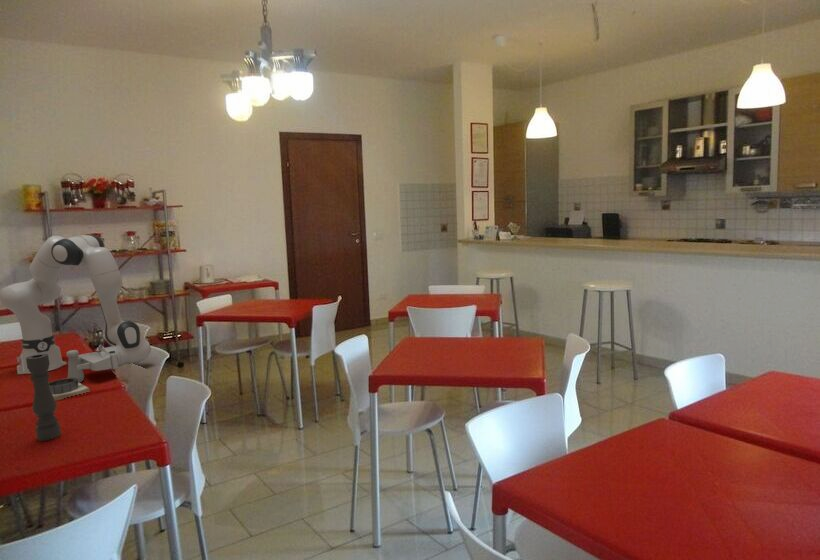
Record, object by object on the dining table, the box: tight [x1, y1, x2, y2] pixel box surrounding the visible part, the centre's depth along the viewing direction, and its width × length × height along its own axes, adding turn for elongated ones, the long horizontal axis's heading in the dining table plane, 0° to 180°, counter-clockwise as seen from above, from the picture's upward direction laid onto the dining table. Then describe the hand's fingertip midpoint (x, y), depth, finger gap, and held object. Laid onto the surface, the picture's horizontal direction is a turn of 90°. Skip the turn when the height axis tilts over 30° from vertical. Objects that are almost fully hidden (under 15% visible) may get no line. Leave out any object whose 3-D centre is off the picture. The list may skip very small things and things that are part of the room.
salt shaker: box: [65, 349, 85, 383], centre depth 236 cm, size 6×6×13 cm
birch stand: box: [52, 382, 91, 402], centre depth 223 cm, size 14×14×2 cm
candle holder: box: [26, 354, 62, 442], centre depth 178 cm, size 6×6×25 cm
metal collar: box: [49, 377, 79, 394], centre depth 222 cm, size 10×10×3 cm
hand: (72, 365), depth 235 cm, fingers open, 8 cm apart
